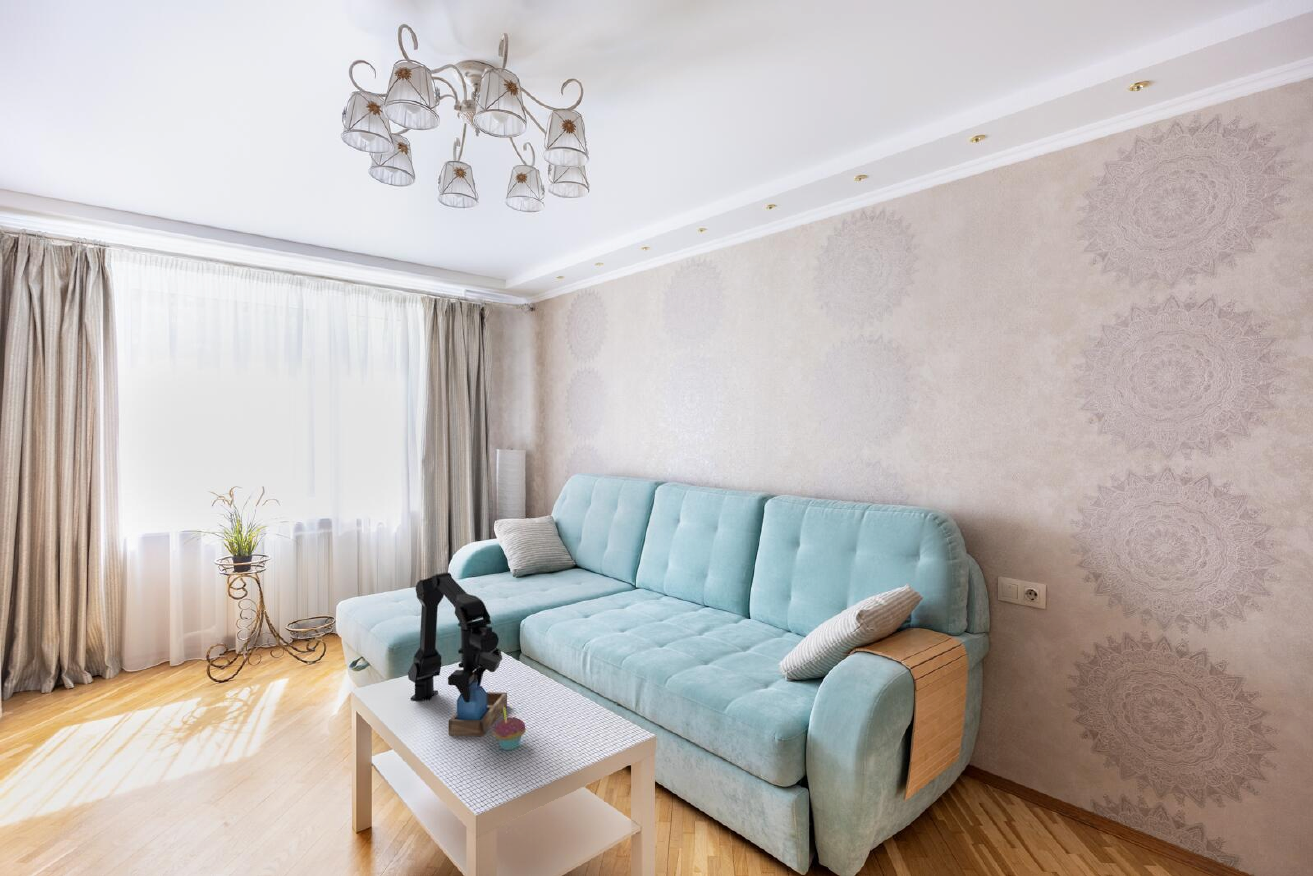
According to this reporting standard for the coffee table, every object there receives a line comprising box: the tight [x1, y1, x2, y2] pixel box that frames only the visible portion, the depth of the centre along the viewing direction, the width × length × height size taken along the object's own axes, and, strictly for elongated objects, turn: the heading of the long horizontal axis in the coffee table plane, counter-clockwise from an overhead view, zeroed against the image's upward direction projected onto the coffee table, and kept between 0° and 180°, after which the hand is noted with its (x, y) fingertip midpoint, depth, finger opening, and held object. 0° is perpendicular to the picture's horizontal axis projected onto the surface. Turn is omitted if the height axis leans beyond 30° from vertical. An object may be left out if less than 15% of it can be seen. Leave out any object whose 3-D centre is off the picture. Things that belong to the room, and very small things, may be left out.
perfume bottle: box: [456, 675, 488, 720], centre depth 177 cm, size 6×6×12 cm
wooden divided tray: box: [447, 691, 508, 737], centre depth 182 cm, size 20×10×4 cm, turn 173°
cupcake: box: [493, 705, 527, 751], centre depth 167 cm, size 9×8×12 cm
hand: (472, 697), depth 177 cm, fingers closed on perfume bottle, 6 cm apart
